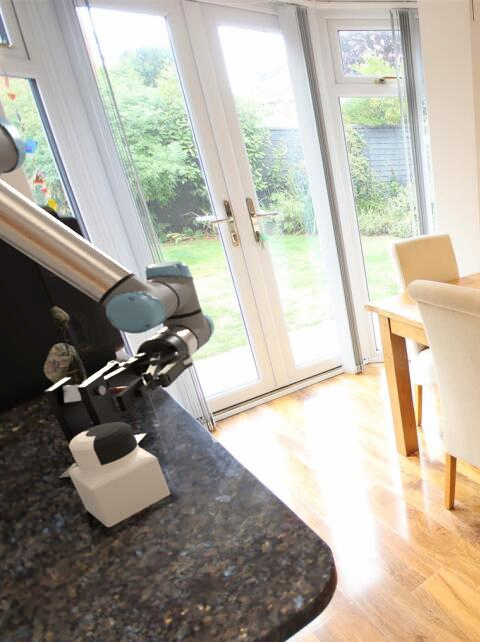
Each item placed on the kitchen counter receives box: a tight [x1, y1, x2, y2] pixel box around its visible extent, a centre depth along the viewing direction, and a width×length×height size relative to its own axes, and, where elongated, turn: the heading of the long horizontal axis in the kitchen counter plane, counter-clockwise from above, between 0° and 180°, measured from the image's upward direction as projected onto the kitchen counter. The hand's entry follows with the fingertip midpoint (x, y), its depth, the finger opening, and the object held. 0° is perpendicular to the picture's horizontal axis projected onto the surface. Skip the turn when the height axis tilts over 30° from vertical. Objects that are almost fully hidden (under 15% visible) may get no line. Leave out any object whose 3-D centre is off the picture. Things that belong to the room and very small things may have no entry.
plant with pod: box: [43, 306, 88, 385], centre depth 86 cm, size 8×11×20 cm
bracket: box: [43, 374, 148, 480], centre depth 69 cm, size 10×7×14 cm
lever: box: [63, 384, 128, 403], centre depth 71 cm, size 11×5×2 cm, turn 13°
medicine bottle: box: [68, 421, 171, 528], centre depth 60 cm, size 7×7×12 cm
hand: (100, 406), depth 71 cm, fingers closed on lever, 5 cm apart
